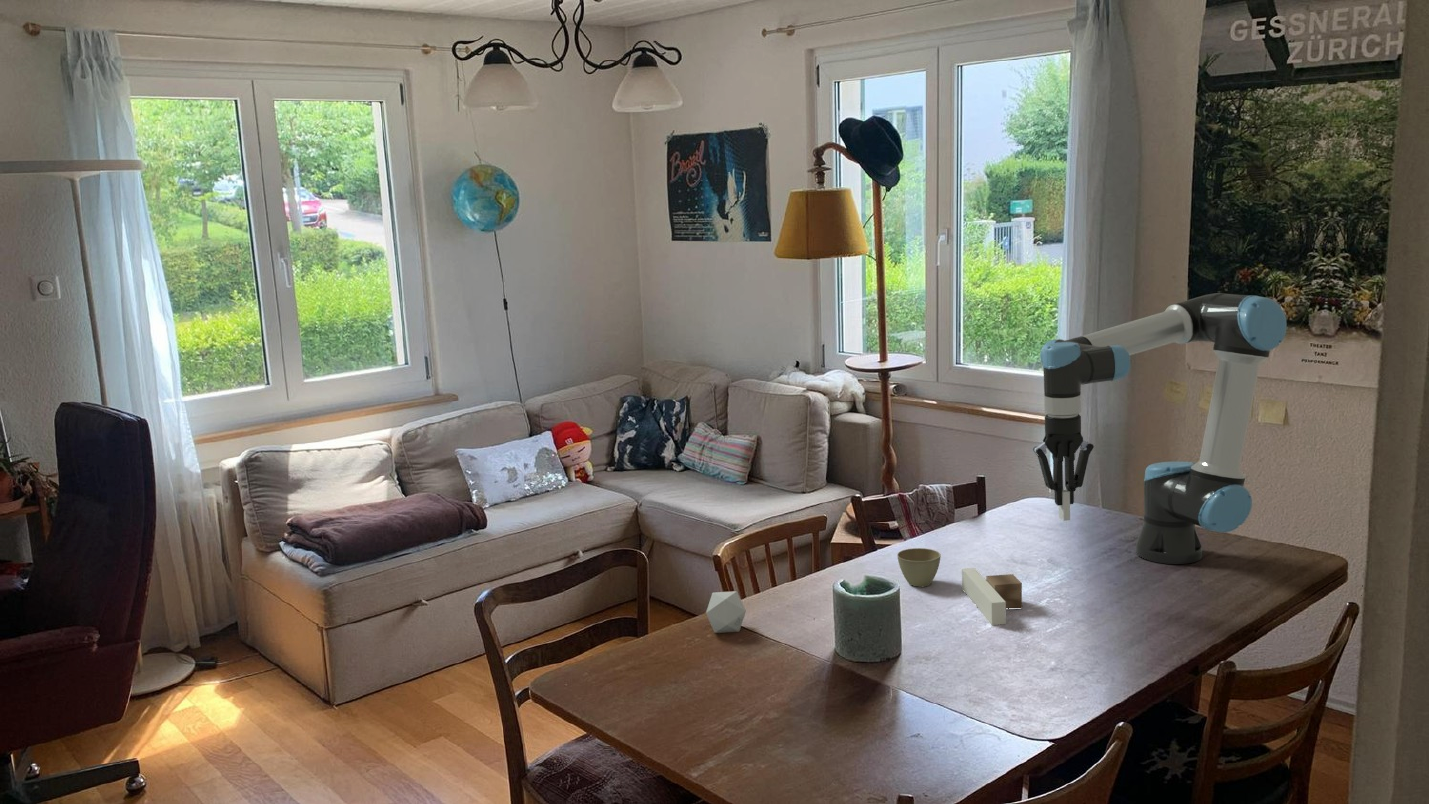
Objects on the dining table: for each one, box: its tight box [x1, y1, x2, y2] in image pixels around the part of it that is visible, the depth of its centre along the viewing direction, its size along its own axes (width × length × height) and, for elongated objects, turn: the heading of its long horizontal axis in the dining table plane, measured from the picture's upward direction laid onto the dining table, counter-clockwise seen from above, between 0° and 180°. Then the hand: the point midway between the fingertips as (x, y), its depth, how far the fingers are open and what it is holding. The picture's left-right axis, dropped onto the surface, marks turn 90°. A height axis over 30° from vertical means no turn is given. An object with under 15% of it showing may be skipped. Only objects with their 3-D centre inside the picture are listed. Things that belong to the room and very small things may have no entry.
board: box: [961, 567, 1007, 626], centre depth 243 cm, size 3×22×5 cm, turn 4°
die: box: [705, 590, 747, 634], centre depth 236 cm, size 8×9×10 cm
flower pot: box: [896, 547, 942, 588], centre depth 259 cm, size 10×10×7 cm
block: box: [985, 573, 1023, 609], centre depth 243 cm, size 6×6×6 cm
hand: (1064, 518), depth 243 cm, fingers closed
